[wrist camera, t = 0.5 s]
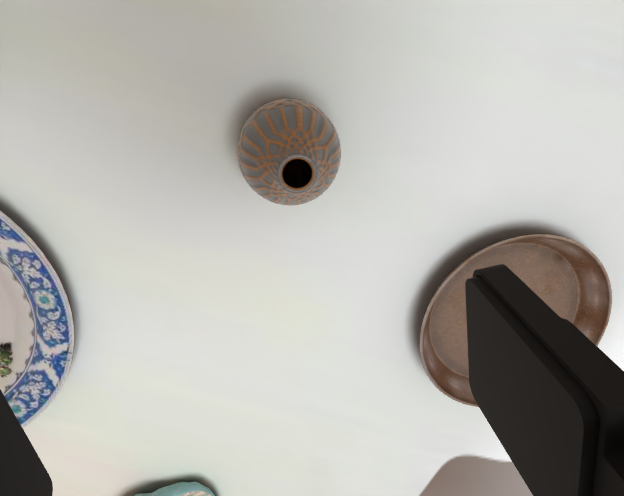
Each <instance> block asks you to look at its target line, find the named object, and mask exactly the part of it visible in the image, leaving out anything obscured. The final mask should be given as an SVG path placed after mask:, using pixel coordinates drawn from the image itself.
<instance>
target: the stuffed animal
mask: <svg viewBox="0 0 624 496" xmlns="http://www.w3.org/2000/svg"><path fill="white" fill-rule="evenodd" d="M134 496H215V495H214V494H213V493H212V491H211V490H210V489H209V488H207V487H205V486H204V485H202V484H200V483H198V482H196V481H195V482H185V481H180V482H177V483H175V484H172V485H169V486H165V487H162V488H160V489H158V490H156V491H154V492H152V493H140V494H135V495H134Z"/></svg>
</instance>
